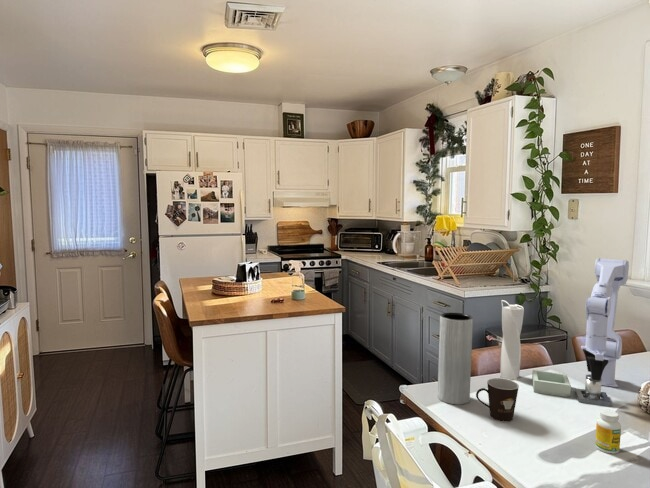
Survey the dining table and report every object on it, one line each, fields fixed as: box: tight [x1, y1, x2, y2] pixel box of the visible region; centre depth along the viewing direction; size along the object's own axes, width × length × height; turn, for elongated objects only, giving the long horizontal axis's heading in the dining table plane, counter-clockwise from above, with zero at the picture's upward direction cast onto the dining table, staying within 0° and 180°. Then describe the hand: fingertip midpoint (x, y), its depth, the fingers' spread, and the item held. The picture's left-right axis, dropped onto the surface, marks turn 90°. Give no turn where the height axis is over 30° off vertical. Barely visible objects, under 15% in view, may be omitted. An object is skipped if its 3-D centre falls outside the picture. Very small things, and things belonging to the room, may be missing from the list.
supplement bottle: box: [594, 409, 622, 455], centre depth 118 cm, size 5×5×10 cm
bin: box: [531, 369, 572, 398], centre depth 157 cm, size 11×11×4 cm
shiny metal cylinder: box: [584, 373, 602, 400], centre depth 149 cm, size 4×4×7 cm
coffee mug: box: [475, 377, 520, 423], centre depth 136 cm, size 12×9×10 cm
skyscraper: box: [499, 299, 525, 381], centre depth 167 cm, size 8×8×28 cm
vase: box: [437, 312, 474, 405], centre depth 147 cm, size 10×10×27 cm
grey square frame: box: [574, 387, 612, 408], centre depth 149 cm, size 9×9×1 cm
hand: (593, 375), depth 149 cm, fingers open, 7 cm apart
